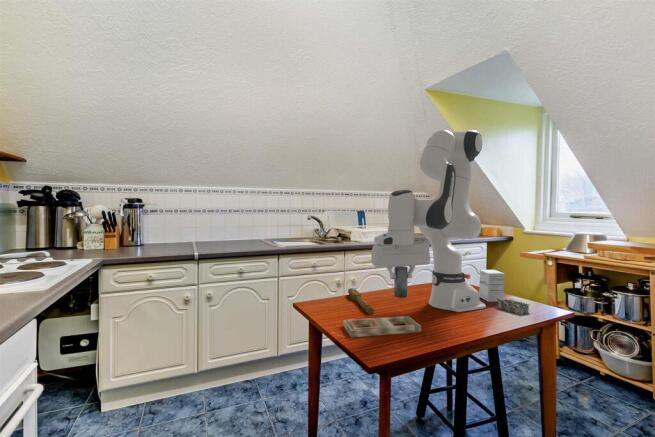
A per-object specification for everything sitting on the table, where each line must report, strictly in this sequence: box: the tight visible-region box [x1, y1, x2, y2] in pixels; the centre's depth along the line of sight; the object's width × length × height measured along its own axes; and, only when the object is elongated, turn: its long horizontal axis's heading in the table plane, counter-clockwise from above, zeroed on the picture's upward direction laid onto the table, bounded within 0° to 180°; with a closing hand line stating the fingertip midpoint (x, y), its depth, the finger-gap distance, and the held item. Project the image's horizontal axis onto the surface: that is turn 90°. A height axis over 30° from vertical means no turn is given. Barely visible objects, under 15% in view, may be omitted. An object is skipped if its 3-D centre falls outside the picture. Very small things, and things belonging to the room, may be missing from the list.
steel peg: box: [393, 265, 409, 299], centre depth 116 cm, size 4×4×10 cm
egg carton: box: [497, 298, 531, 315], centre depth 136 cm, size 11×8×4 cm
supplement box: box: [478, 269, 505, 303], centre depth 150 cm, size 7×7×13 cm
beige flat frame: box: [343, 315, 422, 338], centre depth 115 cm, size 24×10×2 cm, turn 101°
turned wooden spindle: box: [347, 287, 375, 316], centre depth 144 cm, size 3×3×30 cm
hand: (400, 278), depth 116 cm, fingers closed on steel peg, 4 cm apart
